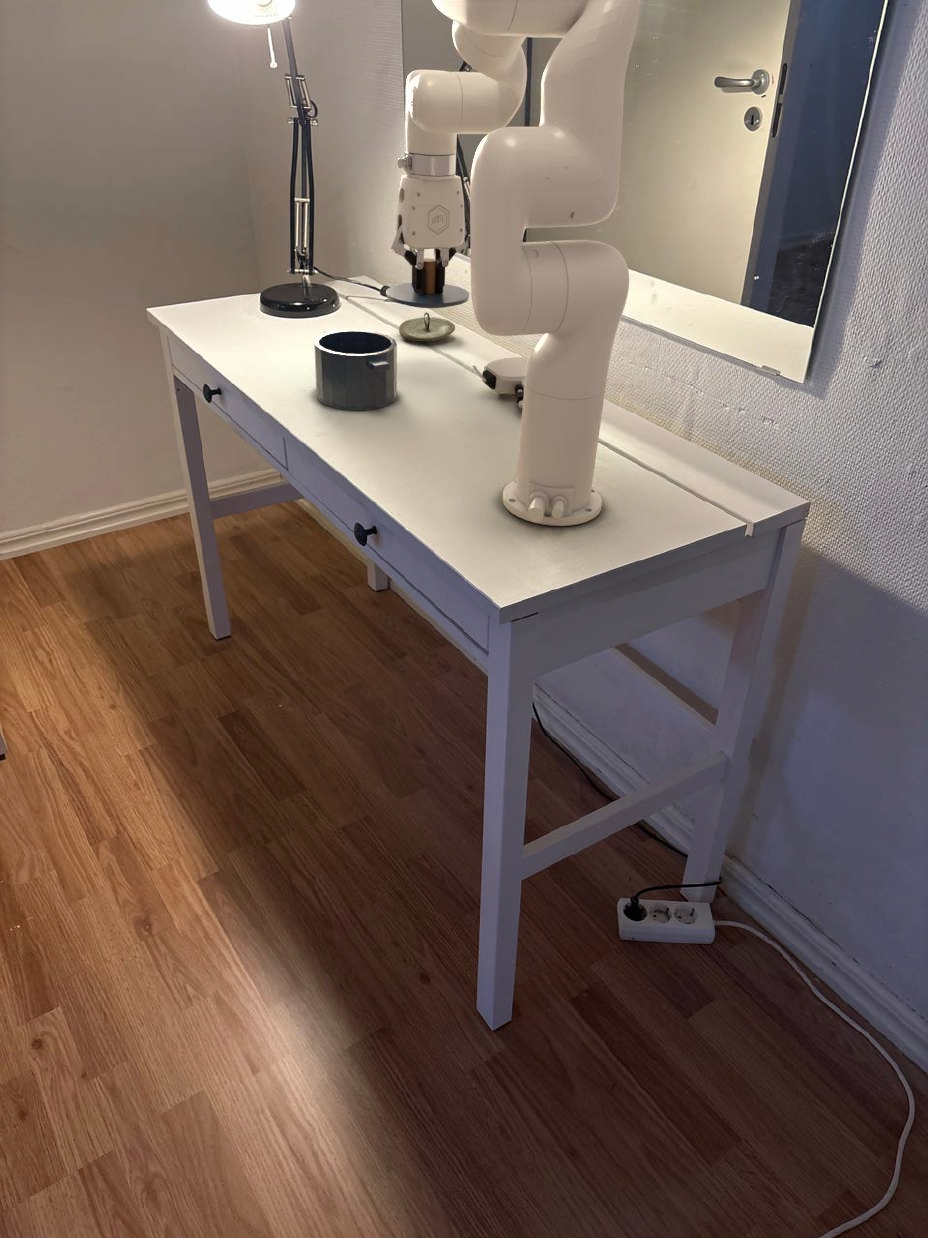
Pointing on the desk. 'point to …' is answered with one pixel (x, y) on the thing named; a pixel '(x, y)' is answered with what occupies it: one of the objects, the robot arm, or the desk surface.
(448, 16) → the robot arm
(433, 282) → the pot lid
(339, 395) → the pot
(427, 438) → the desk surface
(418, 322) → the lid
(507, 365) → the robot toy
